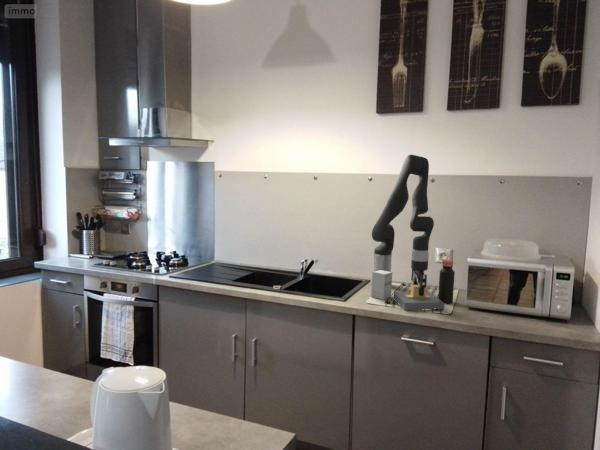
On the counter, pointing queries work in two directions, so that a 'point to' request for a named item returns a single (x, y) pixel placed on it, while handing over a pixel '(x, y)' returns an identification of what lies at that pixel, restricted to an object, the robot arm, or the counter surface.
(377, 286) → the supplement box
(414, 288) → the servo block
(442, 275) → the bottle
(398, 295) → the plate
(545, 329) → the counter surface
